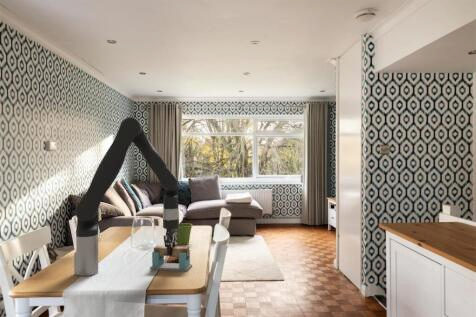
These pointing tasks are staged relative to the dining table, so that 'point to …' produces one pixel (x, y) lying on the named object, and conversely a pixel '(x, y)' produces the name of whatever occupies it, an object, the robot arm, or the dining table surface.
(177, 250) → the rail
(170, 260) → the sunglasses case
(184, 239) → the plant pot
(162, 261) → the bracket stand
